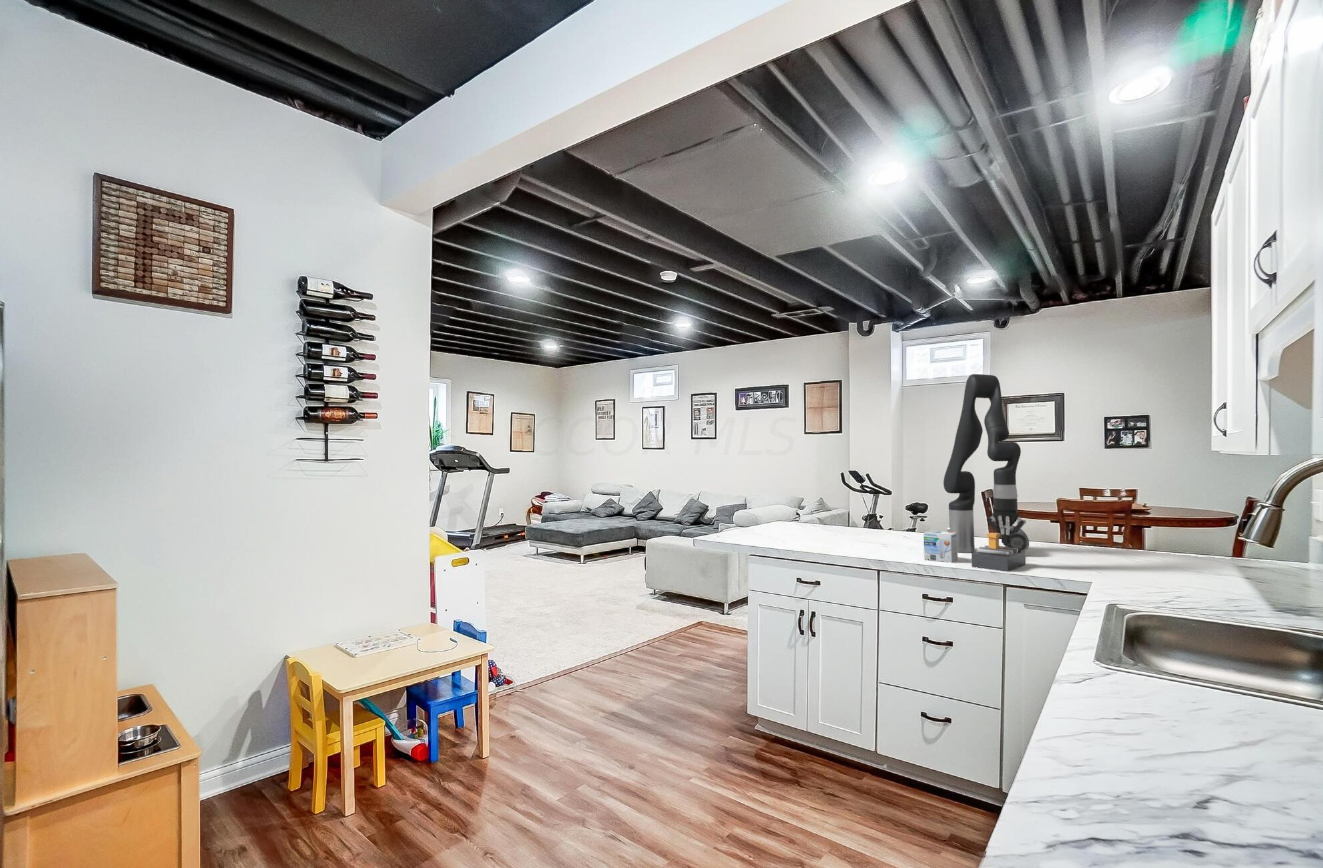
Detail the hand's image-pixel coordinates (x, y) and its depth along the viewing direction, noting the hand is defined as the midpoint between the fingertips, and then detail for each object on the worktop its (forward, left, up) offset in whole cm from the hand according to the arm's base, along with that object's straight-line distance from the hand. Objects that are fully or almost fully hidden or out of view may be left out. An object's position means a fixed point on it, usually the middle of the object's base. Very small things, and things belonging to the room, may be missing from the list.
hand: (1006, 544), depth 220 cm
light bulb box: (-23, -3, -8) cm, 24 cm away
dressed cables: (-2, 0, -3) cm, 4 cm away
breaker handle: (-4, 0, -2) cm, 5 cm away
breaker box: (-3, 0, -8) cm, 8 cm away
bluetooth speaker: (-10, +35, -8) cm, 38 cm away
